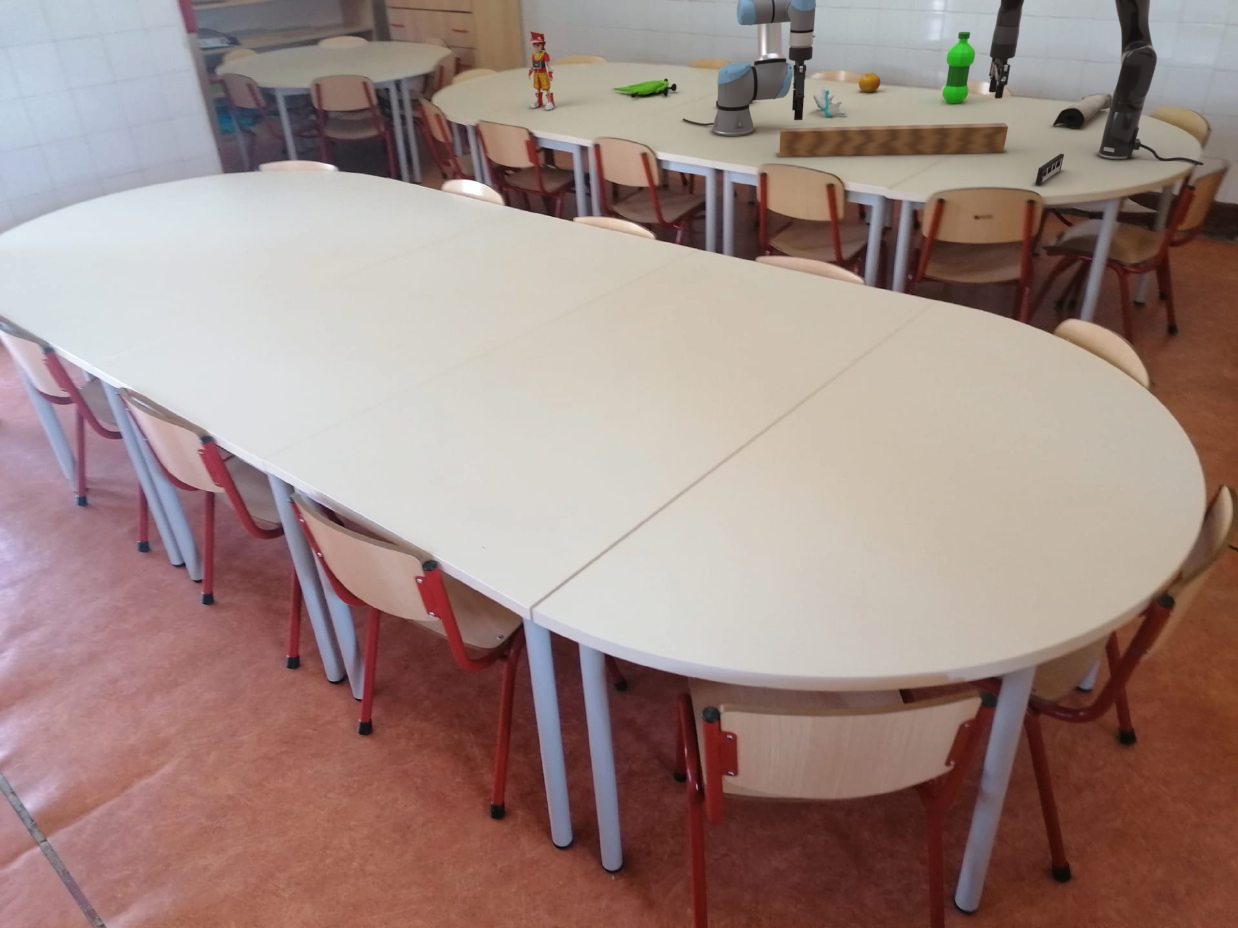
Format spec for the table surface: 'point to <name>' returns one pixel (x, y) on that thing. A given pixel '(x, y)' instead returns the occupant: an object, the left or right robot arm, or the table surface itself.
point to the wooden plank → (893, 140)
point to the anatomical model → (827, 103)
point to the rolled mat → (1083, 110)
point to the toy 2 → (648, 88)
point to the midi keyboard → (1049, 169)
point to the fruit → (869, 82)
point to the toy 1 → (541, 71)
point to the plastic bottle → (958, 69)
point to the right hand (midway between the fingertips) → (995, 95)
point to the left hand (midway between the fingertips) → (797, 115)
